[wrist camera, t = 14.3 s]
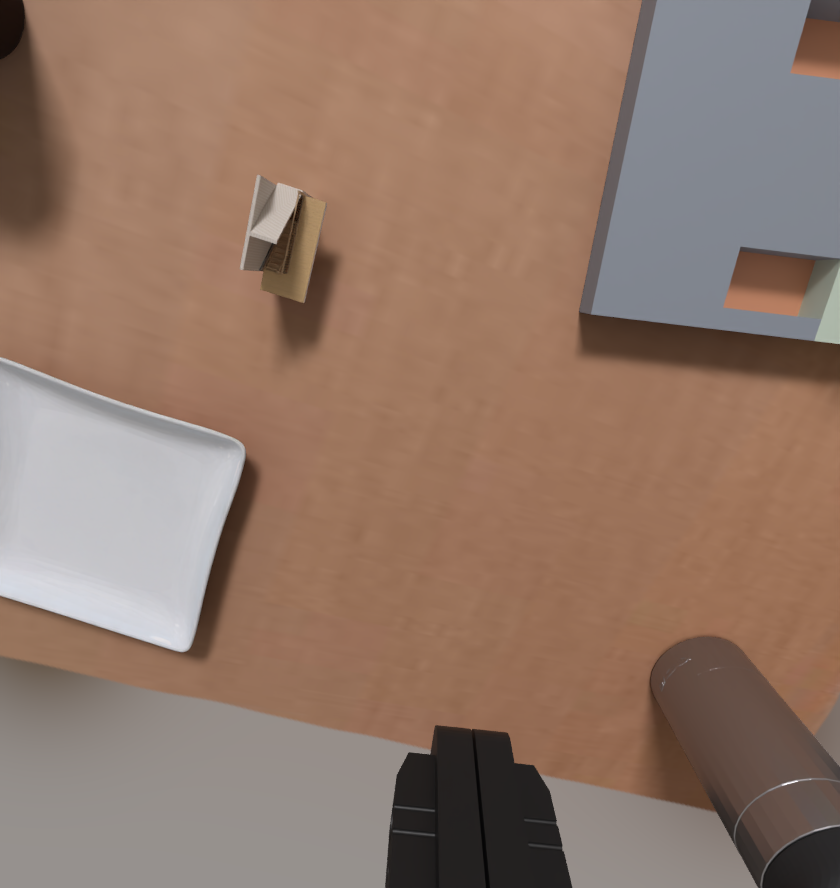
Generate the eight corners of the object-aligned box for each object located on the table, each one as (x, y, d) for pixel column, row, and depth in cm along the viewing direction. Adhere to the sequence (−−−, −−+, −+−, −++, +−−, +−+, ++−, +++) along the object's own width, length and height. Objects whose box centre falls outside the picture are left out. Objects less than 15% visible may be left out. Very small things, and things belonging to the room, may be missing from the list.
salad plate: (5, 343, 41) (-32, 349, 37) (261, 432, 42) (247, 444, 39) (-20, 562, 47) (-54, 583, 44) (205, 631, 49) (189, 657, 45)
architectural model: (336, 206, 37) (314, 189, 30) (314, 300, 39) (289, 305, 32) (291, 191, 37) (257, 170, 30) (271, 287, 39) (236, 288, 32)
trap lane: (1047, 24, 33) (1106, -1, 30) (913, 351, 39) (952, 357, 36) (647, -28, 32) (669, -58, 29) (579, 312, 39) (590, 314, 36)
